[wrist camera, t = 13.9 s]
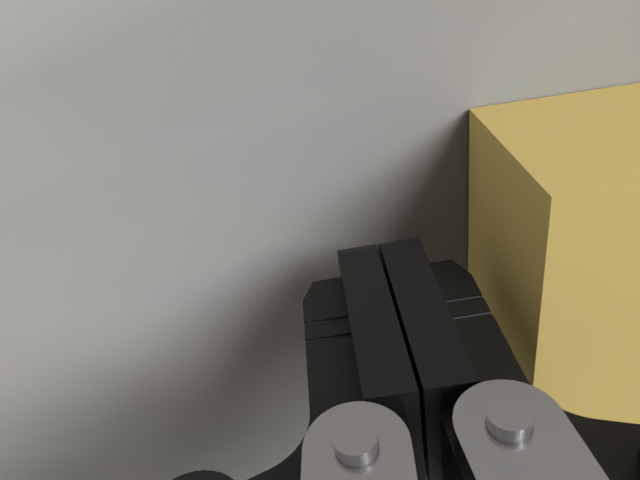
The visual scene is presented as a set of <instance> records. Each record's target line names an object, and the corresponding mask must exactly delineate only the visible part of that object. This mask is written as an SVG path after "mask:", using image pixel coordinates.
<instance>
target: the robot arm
mask: <svg viewBox="0 0 640 480" xmlns="http://www.w3.org/2000/svg"><path fill="white" fill-rule="evenodd" d="M337 252H338V259H339V265H340V272H341V278H334V279H328V280H322V281H316V282H313V283H312V285H311V287H310V289H309V291H308V293H307V295H306V297H305V299H304V300H303V310H304V323H305V340H306V357H307V373H308V388H309V404H310V421H309V426H308V429H307V432H306V434H305V436H304V438H303V440H302V442H301V443H300V445H299V446H298V447H297V448H296V450H295V451H294V452H293V453H292V454H291V455H290V456H289V457H288V458H286V459H285V460H284V461H282V462H281V463H280V464H278V465H276V466H275V467H273V468H271V469H269V470H267V471H265V472H263V473H261V474H259V475H256V476H254V477H252V478H250V479H248V480H425V477H426V480H640V424H634V423H626V422H617V421H609V420H600V419H593V418H588V417H583V416H579V415H576V414H573V413H570V412H568V411H565V410H563V409H562V408H561V407H560V406H559V405H558V403H557V402H556V401H555V400H554V399H552V398H551V397H550V396H549V395H548V394H546V393H545V392H543V391H542V390H540V389H538V388H536V387H534V386H532V385H531V384H530V383H529V381H528V380H527V378H526V376H525V374H524V373H523V371H522V369H521V367H520V365H519V363H518V361H517V359H516V357H515V356H514V354H513V352H512V350H511V348H510V346H509V344H508V342H507V340H506V338H505V337H504V335H503V333H502V331H501V329H500V327H499V325H498V323H497V321H496V320H495V318H494V316H493V315H491V310H490V308H489V306H488V304H487V303H486V301H485V299H484V298H483V297H482V293H481V291H480V289H479V287H478V285H477V284H476V282H475V280H474V278H473V276H472V274H470V273H469V272H468V271H466V270H465V269H464V268H462V267H461V266H459V265H458V264H457V263H455V262H454V261H453V260H446V261H440V262H434V263H429V261H428V259H427V256H426V254H425V252H424V249H423V247H422V245H421V242H420V240H419V239H418V238H412V239H405V240H399V241H393V242H387V243H380V244H378V249H377V246H376V244H375V245H369V246H363V247H356V248H350V249H344V250H338V251H337ZM173 480H233V479H232V478H231V477H229V476H227V475H225V474H223V473H220V472H216V471H207V470H203V471H194V472H190V473H186V474H184V475H181V476H179V477H176V478H174V479H173Z"/></svg>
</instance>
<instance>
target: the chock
mask: <svg viewBox="0 0 640 480" xmlns="http://www.w3.org/2000/svg"><path fill="white" fill-rule="evenodd" d="M468 272H469V273H470V274H472V276H473V278H474V280H475V282H476V284H477V285H478V287H479V289H480V291H481V293H482V297H483V298H484V299H485V301H486V303H487V304H488V306H489V308H490V310H491V315H493V316H494V318H495V320H496V321H497V323H498V325H499V327H500V329H501V331H502V333H503V335H504V337H505V338H506V340H507V342H508V344H509V346H510V348H511V350H512V352H513V354H514V356H515V357H516V359H517V361H518V363H519V365H520V367H521V369H522V371H523V373H524V374H525V376H526V378H527V380H528V381H529V383H530V384H531V385H532V386H534V387H536V388H538V389H540V390H542V391H543V392H545V393H546V394H548V395H549V396H550V397H551V398H552V399H554V400H555V401H556V402H557V403H558V405H559V406H560V407H561V408H562V409H563V410H565V411H568V412H570V413H573V414H576V415H579V416H583V417H588V418H593V419H600V420H609V421H617V422H626V423H634V424H640V83H634V84H627V85H621V86H614V87H608V88H601V89H595V90H589V91H582V92H576V93H569V94H563V95H556V96H550V97H543V98H537V99H530V100H524V101H517V102H511V103H504V104H498V105H491V106H485V107H478V108H472V109H469V213H468Z"/></svg>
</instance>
